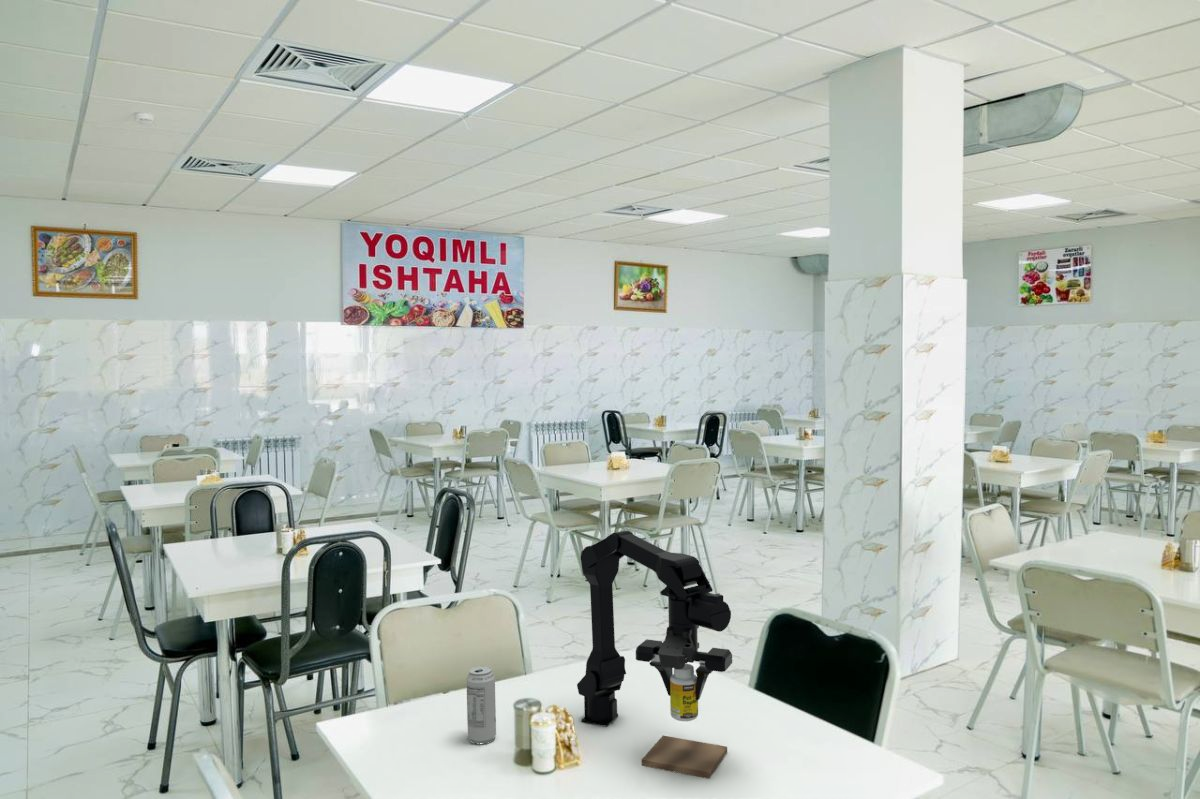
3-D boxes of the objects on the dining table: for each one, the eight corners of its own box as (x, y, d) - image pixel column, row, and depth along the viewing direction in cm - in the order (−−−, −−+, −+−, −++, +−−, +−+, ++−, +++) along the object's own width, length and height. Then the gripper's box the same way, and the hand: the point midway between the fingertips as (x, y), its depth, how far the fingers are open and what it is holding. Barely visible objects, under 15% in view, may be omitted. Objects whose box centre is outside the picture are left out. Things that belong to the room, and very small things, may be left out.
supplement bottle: (682, 724, 166) (681, 673, 166) (664, 715, 171) (664, 665, 171) (704, 718, 169) (703, 667, 169) (686, 709, 174) (685, 659, 174)
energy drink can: (502, 738, 181) (500, 669, 181) (480, 748, 177) (478, 677, 176) (484, 730, 185) (482, 663, 185) (462, 739, 181) (460, 670, 180)
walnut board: (641, 765, 168) (641, 759, 168) (663, 741, 179) (662, 735, 179) (709, 778, 162) (709, 772, 162) (727, 752, 173) (727, 746, 173)
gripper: (624, 626, 166) (625, 705, 167) (716, 637, 158) (717, 719, 159) (645, 611, 176) (646, 685, 177) (732, 621, 168) (733, 698, 169)
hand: (684, 697), depth 170 cm, fingers closed on supplement bottle, 5 cm apart
